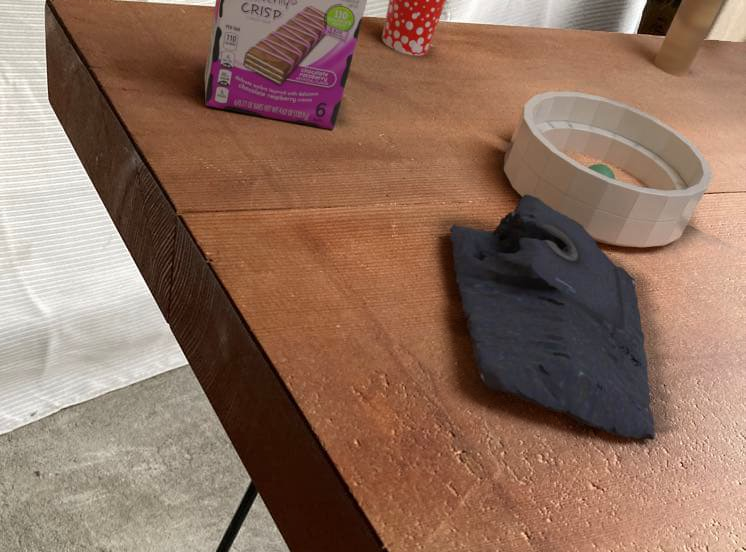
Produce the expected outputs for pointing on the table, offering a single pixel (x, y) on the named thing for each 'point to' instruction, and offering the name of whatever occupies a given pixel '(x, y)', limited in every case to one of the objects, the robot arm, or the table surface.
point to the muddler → (686, 35)
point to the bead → (603, 170)
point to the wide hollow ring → (618, 147)
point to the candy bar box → (282, 57)
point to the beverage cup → (411, 25)
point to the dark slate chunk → (554, 319)
